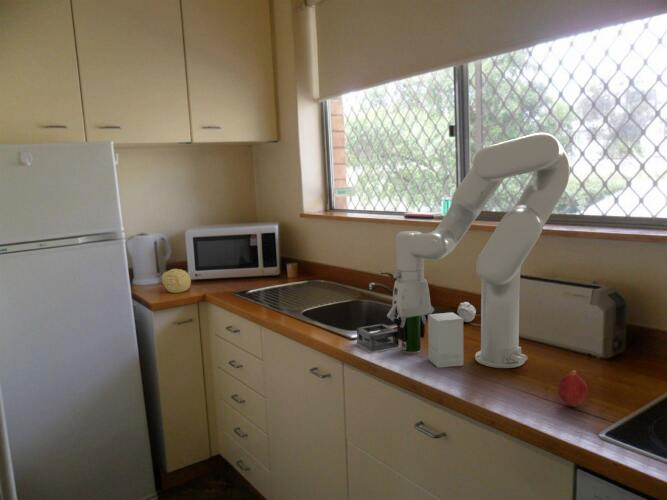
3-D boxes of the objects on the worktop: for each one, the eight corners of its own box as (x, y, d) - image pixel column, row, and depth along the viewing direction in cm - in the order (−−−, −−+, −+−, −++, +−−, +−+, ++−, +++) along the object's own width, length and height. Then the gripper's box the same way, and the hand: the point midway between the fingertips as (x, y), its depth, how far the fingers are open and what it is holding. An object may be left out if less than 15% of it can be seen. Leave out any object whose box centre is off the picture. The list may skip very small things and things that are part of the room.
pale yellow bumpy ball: (159, 293, 241) (157, 270, 240) (176, 288, 252) (174, 265, 251) (179, 295, 237) (177, 271, 235) (196, 289, 248) (194, 266, 246)
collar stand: (400, 347, 155) (399, 331, 154) (371, 353, 151) (370, 336, 150) (383, 339, 163) (383, 323, 163) (355, 344, 159) (355, 327, 159)
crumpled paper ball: (453, 323, 178) (453, 302, 177) (462, 318, 183) (462, 298, 182) (471, 325, 174) (471, 305, 173) (479, 320, 180) (479, 300, 179)
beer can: (410, 355, 148) (410, 313, 146) (398, 350, 152) (397, 310, 150) (425, 351, 151) (424, 310, 149) (412, 347, 155) (411, 306, 153)
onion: (557, 410, 111) (558, 373, 110) (556, 399, 117) (557, 364, 115) (588, 413, 109) (589, 376, 108) (586, 402, 114) (587, 366, 113)
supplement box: (464, 365, 139) (464, 318, 137) (437, 368, 137) (436, 320, 136) (453, 356, 146) (453, 311, 144) (427, 358, 145) (427, 313, 143)
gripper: (390, 281, 141) (391, 346, 144) (443, 274, 148) (444, 337, 151) (376, 276, 148) (378, 339, 151) (428, 270, 155) (429, 330, 158)
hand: (411, 337), depth 151 cm, fingers closed on beer can, 5 cm apart
